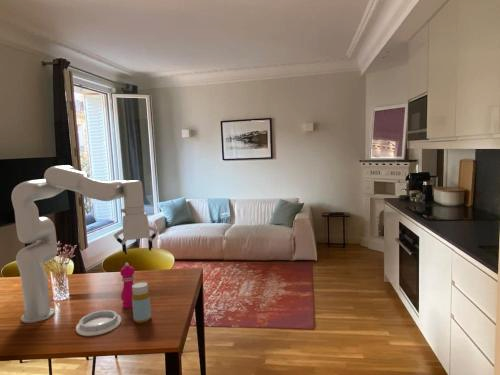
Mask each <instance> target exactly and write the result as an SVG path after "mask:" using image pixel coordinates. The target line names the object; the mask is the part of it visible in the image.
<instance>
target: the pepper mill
mask: <svg viewBox="0 0 500 375" xmlns="http://www.w3.org/2000/svg"><path fill="white" fill-rule="evenodd" d="M134 274H135V268H134V266H132V265H130V264H129V263H128V262H125V263H124V266H123V267H121V269H120V275H121V279H122V280H121V281H122V282H123V288H122V292H121V295H120V299H121V300H122V307H123V308H125V309H131V308H133V306H132V295H133V291H132V285H133V284H134V279H135V278H134V277H135V276H134Z"/></svg>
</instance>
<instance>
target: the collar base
mask: <svg viewBox="0 0 500 375" xmlns="http://www.w3.org/2000/svg"><path fill="white" fill-rule="evenodd" d="M121 323H122V317H121V315H120V314H118V313H117V311H115V310H110V309H105V310H104V309H103V310H97V311H93V312H90V313H89V314H86V315H84V316H83V317H82V318H80V319H79V321H78V323H77V324H76V326H75V331H76V333H77V334H78V335H79V336H82V337H83V336H84V337H94V336H99V335H102V334H106V333H109V332H111V331H113V330H115V329H116V328H117V329H118V327H119V326H120V325H121Z"/></svg>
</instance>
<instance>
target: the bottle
mask: <svg viewBox="0 0 500 375" xmlns="http://www.w3.org/2000/svg"><path fill="white" fill-rule="evenodd" d="M132 291H133V295H132V306H133V307H132V315H133V317H132V318H133V321H134V323H137V324H143V323H146V322H148V321H150V320H151V318H152V311H151V298H150V297H151V296H150V293H149V292H150V291H149V284H148V282H146V281H140V282H135V283H133V285H132Z"/></svg>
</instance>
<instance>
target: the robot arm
mask: <svg viewBox="0 0 500 375" xmlns="http://www.w3.org/2000/svg"><path fill="white" fill-rule="evenodd" d="M65 190H69V191H72V192H76V193H79V194H80V195H82V196H84V197H86V198H88V199H93V200H98V201H103V202H110V201H114V200H118V199H122V198H123V207H124V208H121V209H120V213H121V214H122V213H124V214H123V217H122V229H120V230H118V231H117V232H116V233H114V234H113V237H114V238H115V240H116V241H117V242H118V243H119V244H121V247H122V253H124V255H127V244H126V243H127V241H133V240H139V239H140V240H142V239H146V238H147V243H148V250H149V252H150V251H151V252H152V249H153V248H154V246H153V240H154V239H155V238H156V237H157V235H158V232H159V229H157V227H154V226H151V225H150V224H149V219H148V214H147V213H146V212H145V205H144V204H145V203H144V191H143V183H142V181H141V180H138V179H137V180H134V179H133V180H120V179H118V180H117V179H116V180H111V181H102V180H101V181H100V180H96V179H92V178H90V175H89V174H88V173H87V172H86V171H80V170H77V169H76V168H75V167H74V166H71V165H69V164H67V165H66V164H65V165H55V166H54V165H53V166H51V167H49V168H47V169H46V170H45V172H44V174H43V178H41V179H40V178H39V179H31V180H26V181H23V182H20V183H19V184H17V185H16V186H15V187H14V188H13V190H12V192H11V203H12V207H13V210H14V218H15V227H16V235H17V238H18V240H19V241H20V243H24V244H29V245H27V246H25V247H23V248H21V249H20V250H18V252H17V254H16V256H15V263H16V265H17V268H18V270H19V275H20V282H21V290H22V298H23V307H22V310H23V311H24V313H23V315H22V316H20V321H21V323H27V324H29V323H30V324H34V323H38V322H43V321H44V320H48V319H49V318H51V317H52V316H54V315H55V312H56V310H55V309H54V307H51V302H50V292H49V281H48V275H47V271H46V270H45V268H44V266H43V264H45V263H47V262H50V261H51V260H53V259H54V258H55V257H56V256H57V254H58V244H57V235H56V234H57V233H56V232H57V231H56V227H55V224H54V222H53V221H52V220H51V218H49V217H46V216H40V215H39V214H40V213H39V208H38V206H37V204H36V203H35V201H39V200H44V199H49V198H50V199H51V198H53V197H55V196H57V195H59V194H61V193H62V192H64V191H65ZM150 231H152V232H153V233H152V235H150ZM120 235H122V236H123V238H120V237H119V236H120ZM34 242H35V243H34ZM30 243H32V244H30Z"/></svg>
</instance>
